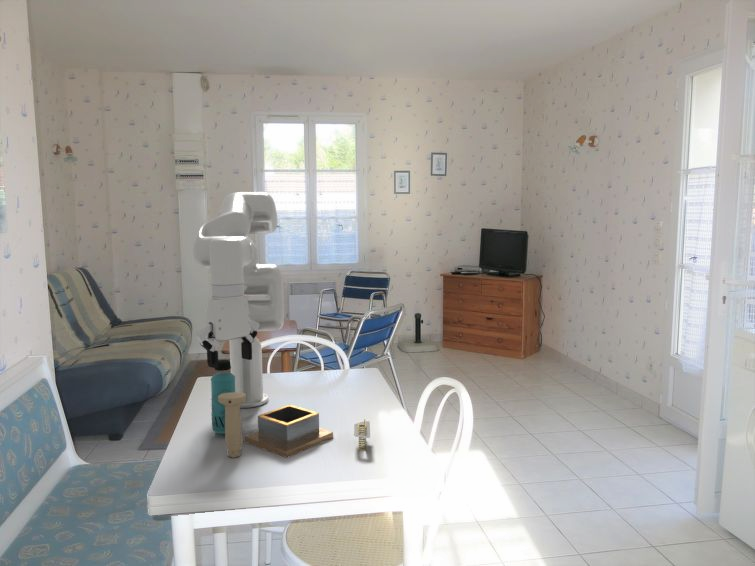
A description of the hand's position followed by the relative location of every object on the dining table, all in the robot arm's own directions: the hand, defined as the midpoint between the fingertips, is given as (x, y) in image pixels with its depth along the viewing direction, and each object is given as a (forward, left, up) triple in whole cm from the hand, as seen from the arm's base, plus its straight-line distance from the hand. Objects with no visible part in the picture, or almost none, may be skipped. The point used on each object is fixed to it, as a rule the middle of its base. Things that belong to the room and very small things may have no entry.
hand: (230, 363), depth 143 cm
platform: (+20, +24, -24) cm, 39 cm away
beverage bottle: (-13, +7, -23) cm, 28 cm away
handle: (0, 0, -23) cm, 23 cm away
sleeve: (+3, +15, -23) cm, 28 cm away
